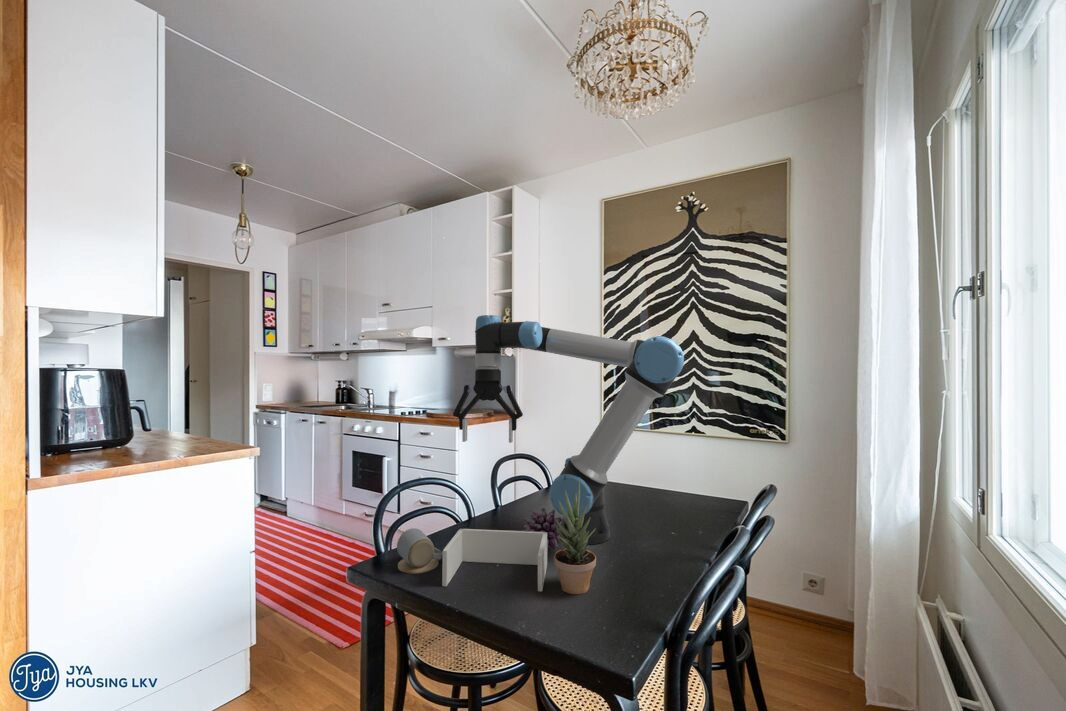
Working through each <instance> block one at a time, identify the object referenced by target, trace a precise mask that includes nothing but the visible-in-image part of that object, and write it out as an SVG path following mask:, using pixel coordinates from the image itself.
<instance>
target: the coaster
mask: <svg viewBox="0 0 1066 711" xmlns="http://www.w3.org/2000/svg"><path fill="white" fill-rule="evenodd" d="M438 566H439V560H435V559H431V561H430V562H429V563H428V564H427V565H425V566H423V567H414V566H411V565H410V564H409V563H407V561H405V560H404V559H403V558H402V559H401V560H400V561H399V562H398V563H397V570H398V571H400V572H402V573H403V574H410V575H413V574H423V573H429V572H430V571H433V570H435V569H437V567H438Z"/></svg>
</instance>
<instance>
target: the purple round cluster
mask: <svg viewBox="0 0 1066 711" xmlns="http://www.w3.org/2000/svg"><path fill="white" fill-rule="evenodd" d="M555 513H556V509H555V508H554V509H552V511H550V512H548V513H547V512H546V508H545V507H541V508H540V511H539V513H538V512H536V511H535V510H531V513H530V514H529V516H530V518H527V517H525V519H524V521H525V522H526V523H527V525H524V526H523V528H524V529H522V530H521V531H529V532H547V550H548V548H551V550H553V551H554V552H556V549H557V548H558V547H559V545H558V543H557V542H560V541H559V540H558V539H557V537H558V538H559V539H560V540H562V539H561V536H560V534H559V532H558V530H557V528H556V526H555V523H556V525H557V527H558V528H559V530H560V531H561V533H563V532H562V530H561V529H560V527H559V526H558V524H557V522H556V520H555V518H556V519H557V520H558V522H559V523H561V521H562V520H563V519H562V517H561V516H559V517H555ZM554 522H555V523H554Z"/></svg>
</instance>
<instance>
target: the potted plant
mask: <svg viewBox="0 0 1066 711" xmlns="http://www.w3.org/2000/svg"><path fill="white" fill-rule="evenodd" d="M565 499H566V504H567V509H568V516H567V515H566V513H565V511H564V509H563V507H562V505H561V503H560V501H559V505H560V509H561V512H562V517H563V518H564V520H565V523H566V525H567V528H568V529H566V528H565V527H564V526H562V525H561V524H560V523H561V522H560V523H559V522H558V520H557V519H556V518H557V517H554V518H555V520H556V522H557V524H558V526H559V527H560V529H561V530H562V532H563V533H564V534H565V536H566V537H567V538H566V537H565V536H564V535H563V534H562V533H561V531H560V530H559V528H558V527H557V525H556V523H555V522H554V523H555V526H556V528H557V530H558V532H559V534H560V535H561V537H562V538H561V539H562V540H560V539H559V538H558V537H557V539H558V540H559V541H558V542H559V543H560V544H561V545H562V546H563V547H564V548H563V547H560V548H561V549H560V550H557V551H555V553H554V555H553V561H554V562H553V564H554V565H555V566H556V569H557V573H558V576H559V577H558V578H559V582H560V585H561V589H562V591H563V592H566V593H567V594H571V595H581V594H585V593H587V592H588V591H589V589H590V586H591V585H590V583H591V578H592V574H593V572H594V569H595V567H596V565H597V556H596V555H595V553H594V552H592V551H590V550H588V549H589V547H590V545H588V544H587V543H588V538H589V537H590V536H591V535H592V533H593V532H594V531H595V529H596V528H595V529H594V530H593V531H592V532H591V533H590V534H589V535H588V533H589V531H588V532H587V533H586V528H587V526H588V524H589V521H590V518H591V517H590V518H589V519H588V521H587V522H586V523H585V525H584V526H583V527H582V524H583V520H584V516H585V513H586V510H587V504H586V507H585V508H584V510H583V512H582V514H581V516H580V517H579V519H578V515H579V502H580V480H579V483H578V495H577V496H576V493H575V500H574V503H573V512H572V508H571V505H570V502H569V499H568V496H567V494H566V490H565ZM587 535H588V536H587ZM587 545H588V546H587Z"/></svg>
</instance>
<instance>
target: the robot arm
mask: <svg viewBox="0 0 1066 711" xmlns="http://www.w3.org/2000/svg"><path fill="white" fill-rule="evenodd" d="M474 329H475V330H474V333H475V337H474V338H475V341H474V342H475V358H474V367H475V368H476V369H475V370H474V371H475V372H474V374H475V375H474V382H475V383H474V385H470V384H465V385H464V386H463V393H462V395H461V397H460V399H459V401H458V402H457V405H456V407H455V409H454V411H453V413H452V416H453V417H455V418H458V420H459V421H458V422H459V423H458V424H459V426H458V429H459V430H460V431H462V443H463V442H464V443H465V442H467V441H468V418H466V416H467V415H468V414H469V413H470V411H471V410H472V409H473V408H474V407H475V405H476V404H477V403H478V402H479V401H480V400H481V401H482V402H483V401H489V402H490V401H495V400H496V402H497V403H498V404H499V406H501V407H502V409H503V410H504V411H505V412H506V413H507V415H508V416H509V417H510V419H508V443H509V444H510V443H513V442H514V439H513V438H514V431H516V430H517V420H518V419H520V418H522V417H523V416H524V415H523V411H522V408H521V407H520V406H519V403H518V401H517V399H516V398H515V394H514V393H513V387H512V385H510V384H508V385H502V370H501V369H500V368H501V367H502V349H524V350H525V349H526V350H531V351H535V352H537V351H538V352H543V353H549V354H553V355H554V354H555V355H559V356H565V357H571V358H576V359H581V360H586V361H591V362H597V363H602V364H608V365H613V366H616V367H617V366H618V367H624V368H627V369H626V370H625V372H624V376H625V382H624V384H623V385H622V387H621V389H620V390H619V392H618V393H617V395H616V397H615V398H614V399H613V401H612V402H611V404H610V405H609V407H608V409H607V410H606V412H605V414H604V416H603V417H602V418H601V420H600V421H599V424H598V425H597V426H596V428H595V429H594V431H593V432H592V434H591V436H590V437H589V439H587V442H586V443H585V445H584V446H583V448H582V450H581V451H580V453H579V454H577V455H572V456H570V457H567V458H566V459H565V461H564V462H565V463H564V468H563V469H562V470H561V472H560V474H559V475H558V476H557V477H556V478H554V479H553V481H552V483H551V485H550V487H549V498H550V499H549V500H550V502H551V504H552V506H553V508H554V510H555V511H556V512H557V513H558V514H560V515H562V512H561V509H560V505H559V501H560V503H561V505H562V507H563V509H564V511H565V513H566V515H567V516H568V509H567V504H566V499H565V490H566V494H567V496H568V499H569V502H570V505H571V508H572V512H573V503H574V500H575V493H576V496H577V495H578V483H579V480H580V502H579V515H578V519H579V517H580V516H581V514H582V512H583V510H584V508H585V507H586V504H587V510H586V513H585V516H584V520H583V524H582V527H583V526H584V525H585V523H586V522H587V521H588V519H589V518H590V517H591V518H590V521H589V524H588V526H587V528H586V533H587V532H588V531H589V533H588V535H589V534H590V533H591V532H592V531H593V530H594V529H595V528H596V529H595V531H594V532H593V533H592V535H591V536H590V537H589V538H588V543H587V544H586V545H596V544H601V543H604V542H607V541H608V540H610V538H611V529H610V526H609V522H608V519H607V516H606V512H605V486H606V485H607V483H608V481H609V480H608V475H607V473H608V471H609V470H610V468H611V466H612V465H613V464H614V462H615V460H616V458H617V457H618V456H619V455H620V453H621V451H622V449H623V448H624V447H625V445H626V444H627V442H628V440H629V439H630V437H631V436H632V434H633V433H634V431H635V430H636V428H637V427H638V425H639V423H640V422H641V421H642V419H643V417H644V415H645V414H646V412H647V411H648V409H649V408H650V406H651V405H652V403H653V402H654V400H655V399H657V398H663V397H664V396H665V394H666V393H667V392H668V391H669V390H668V389H669V388H670V386H671V385H673V384H672V383H673V382H674V381H675V379H676V378H677V377H678V376H679V374H680V373H681V372H682V370H683V367H684V363H685V355H684V352H683V350H682V348H681V346H680V345H679V344H678V342H676V341H674V339H671V338H669V337H667V336H662V335H661V336H660V335H658V336H652V337H649V338H647V339H646V340H642V339H635V340H634V341H626V340H621V339H616V338H609V337H605V336H599V335H592V334H586V333H580V332H573V331H568V330H561V329H557V328H551V327H544V326H541V323H540V322H538V321H531V320H525V321H510V322H508V321H507V322H503V321H502V318H501V316H500V315H495V314H494V315H490V314H487V315H486V314H485V315H483V314H482V315H479V316H477V317H476V320H475V328H474ZM472 391H473V392H474V393H475V394H476V395H475V396H474V397H473V398H472V399H471V401H470V402H469V403H468V405H467V406H465V408H464V409H463V407H464V404H465V403H466V402H467V399H468V398H469V396H470V393H472ZM502 391H504V393H505V394H506V395H507V397H508V400H509V401H510V403H511V406H512V407H513V409H514V411H515V412H514V411H513V410H512V408H511V407H510V406H509V405H508V403H507V402H506V401H505V400H504V398H503V397H502V396H501V393H502ZM462 409H463V410H462ZM561 519H563V520H562V521H561V522H560V524H561V525H562V526H564V527H565V528H566V529H568V528H567V525H566V523H565V520H564V518H563V515H562V517H561ZM562 534H563V535H564V536H565V534H564V533H562ZM588 535H587V536H588ZM560 536H561V535H560ZM565 537H566V536H565ZM561 538H562V537H561ZM566 538H567V537H566Z"/></svg>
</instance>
